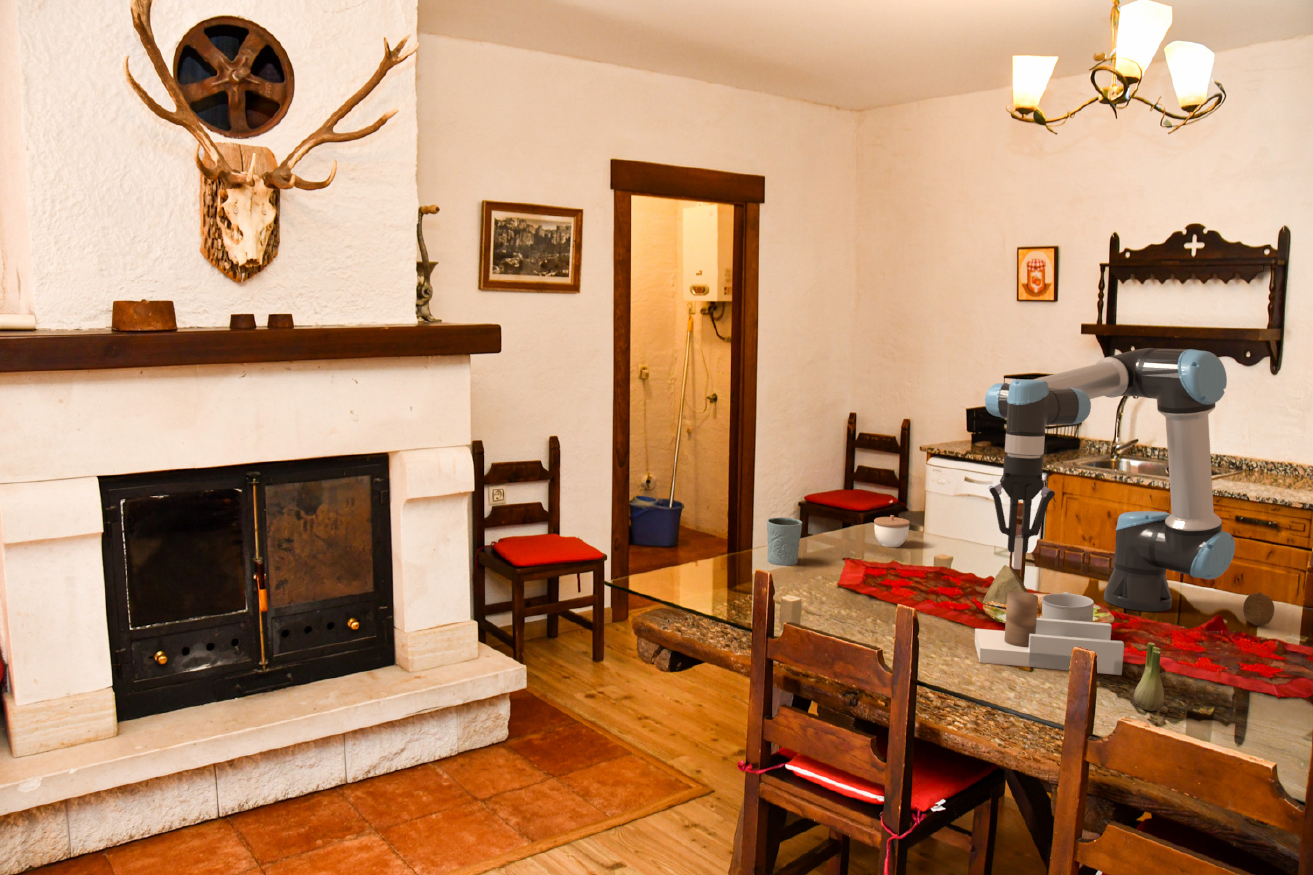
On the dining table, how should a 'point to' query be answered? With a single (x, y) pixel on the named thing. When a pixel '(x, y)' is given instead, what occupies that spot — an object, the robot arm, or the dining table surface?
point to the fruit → (1258, 609)
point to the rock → (1004, 586)
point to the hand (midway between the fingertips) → (1016, 567)
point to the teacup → (1067, 607)
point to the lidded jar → (891, 530)
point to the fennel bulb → (1150, 682)
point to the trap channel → (1053, 646)
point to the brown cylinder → (1020, 618)
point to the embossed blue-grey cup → (783, 540)
